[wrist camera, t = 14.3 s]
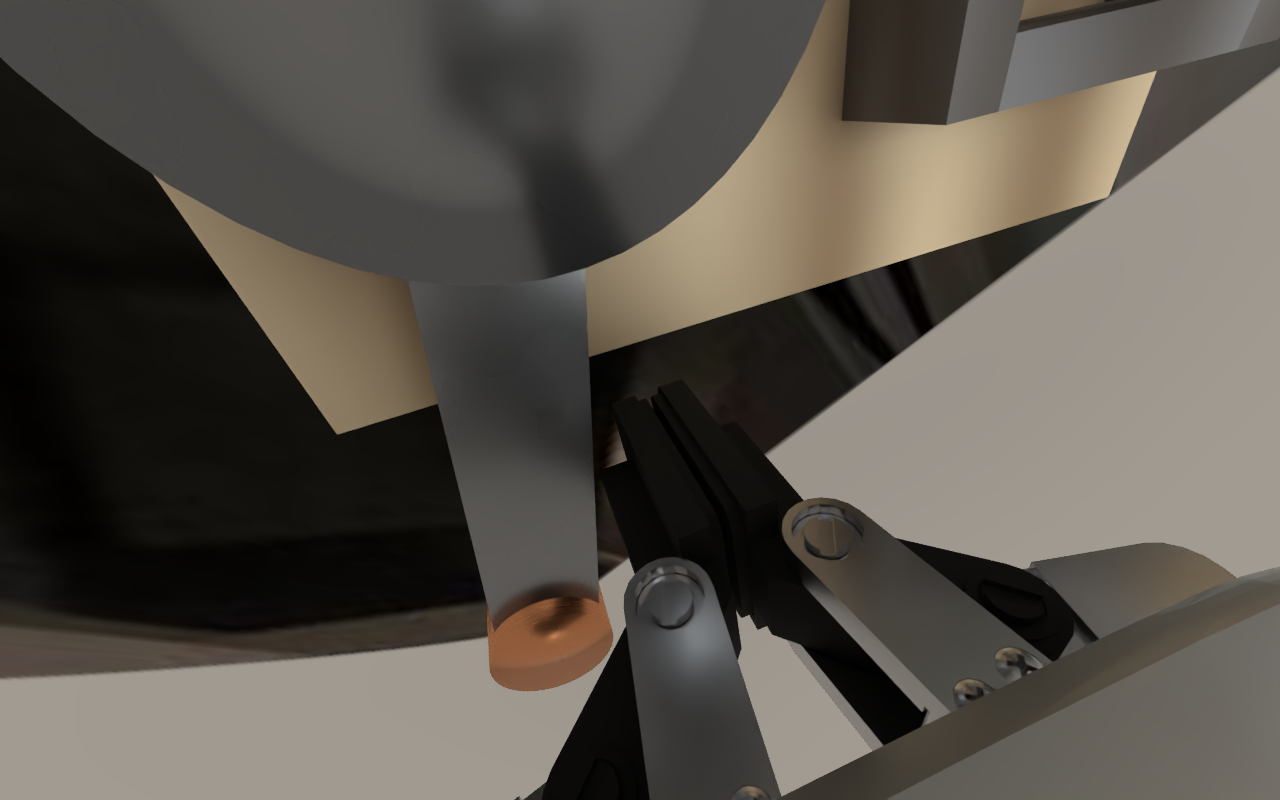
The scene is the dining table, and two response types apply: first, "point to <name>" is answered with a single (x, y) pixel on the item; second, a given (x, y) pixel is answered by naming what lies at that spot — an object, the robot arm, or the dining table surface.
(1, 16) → the grey crank lever
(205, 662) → the dining table surface
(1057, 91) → the block
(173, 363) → the dining table surface
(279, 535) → the dining table surface
